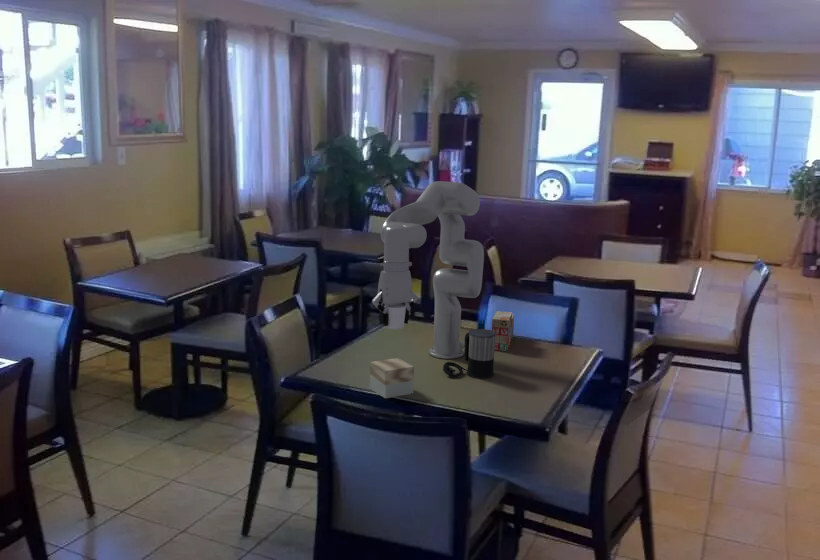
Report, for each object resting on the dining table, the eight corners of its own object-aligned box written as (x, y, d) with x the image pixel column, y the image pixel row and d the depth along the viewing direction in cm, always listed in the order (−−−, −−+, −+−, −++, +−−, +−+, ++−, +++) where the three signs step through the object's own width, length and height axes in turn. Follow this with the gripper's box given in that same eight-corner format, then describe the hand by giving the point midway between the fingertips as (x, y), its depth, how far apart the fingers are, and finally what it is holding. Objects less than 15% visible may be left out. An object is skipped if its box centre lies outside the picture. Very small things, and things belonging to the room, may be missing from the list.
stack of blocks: (497, 335, 316) (499, 305, 313) (513, 336, 314) (515, 306, 312) (490, 350, 295) (492, 318, 293) (507, 351, 294) (509, 319, 291)
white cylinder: (403, 330, 240) (403, 308, 239) (381, 328, 242) (381, 306, 240) (407, 325, 247) (408, 303, 246) (386, 323, 248) (386, 301, 247)
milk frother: (499, 375, 266) (502, 332, 263) (469, 385, 256) (471, 341, 253) (468, 365, 276) (469, 324, 273) (437, 374, 265) (438, 331, 262)
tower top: (397, 371, 254) (398, 357, 253) (413, 380, 246) (413, 366, 245) (370, 375, 249) (370, 361, 248) (385, 385, 241) (385, 371, 240)
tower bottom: (397, 384, 255) (397, 371, 254) (413, 394, 247) (413, 380, 246) (369, 389, 250) (370, 375, 249) (385, 399, 242) (385, 385, 241)
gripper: (414, 262, 248) (413, 318, 252) (365, 266, 240) (364, 323, 243) (426, 266, 242) (425, 323, 245) (376, 271, 233) (375, 329, 237)
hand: (394, 323), depth 244 cm, fingers closed on white cylinder, 6 cm apart
